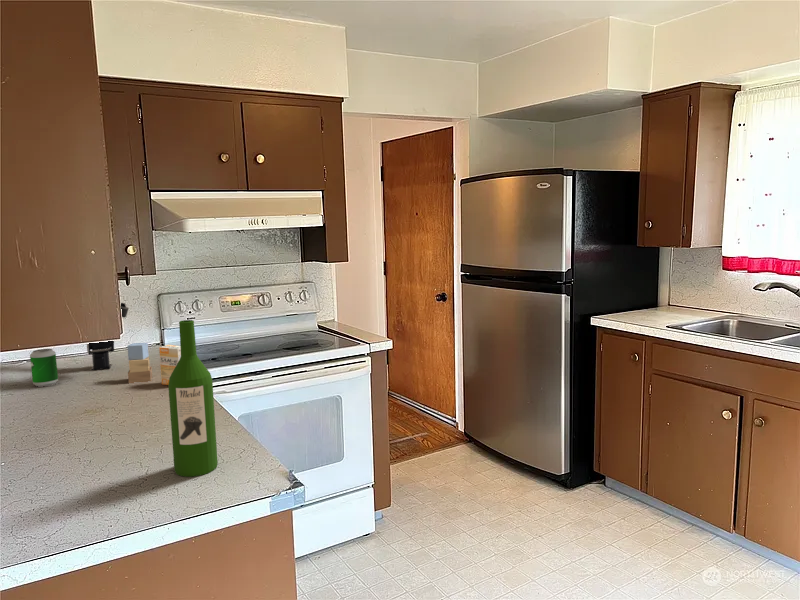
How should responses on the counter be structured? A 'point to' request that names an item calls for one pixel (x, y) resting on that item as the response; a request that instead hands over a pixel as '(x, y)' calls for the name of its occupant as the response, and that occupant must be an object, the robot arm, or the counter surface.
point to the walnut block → (140, 376)
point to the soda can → (44, 367)
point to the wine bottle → (192, 410)
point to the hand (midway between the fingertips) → (104, 341)
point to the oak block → (139, 365)
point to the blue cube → (137, 351)
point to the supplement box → (168, 361)
